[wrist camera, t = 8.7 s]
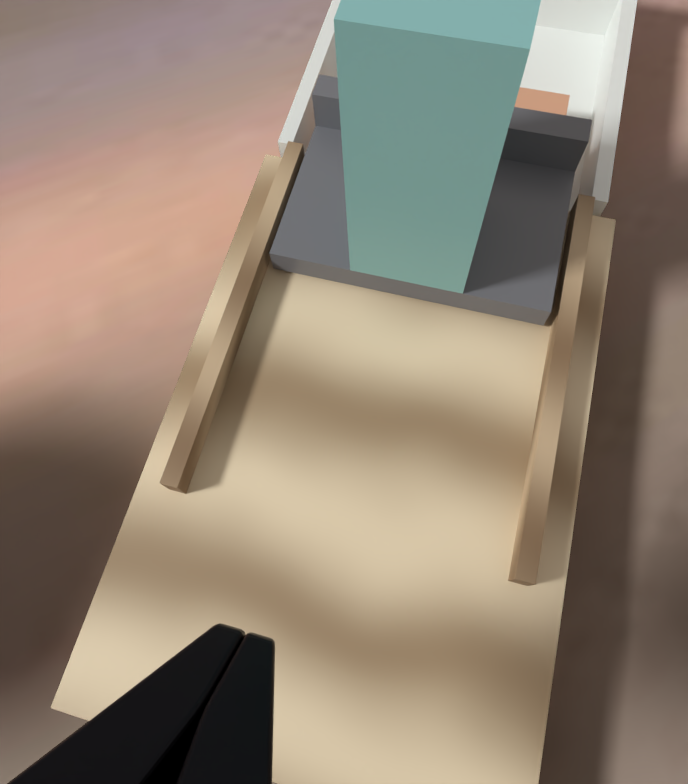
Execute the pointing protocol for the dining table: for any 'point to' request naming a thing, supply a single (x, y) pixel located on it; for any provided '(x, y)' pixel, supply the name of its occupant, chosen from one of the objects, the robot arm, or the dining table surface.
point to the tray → (535, 79)
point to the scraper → (434, 161)
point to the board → (363, 512)
